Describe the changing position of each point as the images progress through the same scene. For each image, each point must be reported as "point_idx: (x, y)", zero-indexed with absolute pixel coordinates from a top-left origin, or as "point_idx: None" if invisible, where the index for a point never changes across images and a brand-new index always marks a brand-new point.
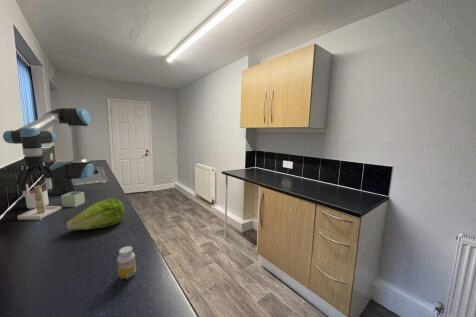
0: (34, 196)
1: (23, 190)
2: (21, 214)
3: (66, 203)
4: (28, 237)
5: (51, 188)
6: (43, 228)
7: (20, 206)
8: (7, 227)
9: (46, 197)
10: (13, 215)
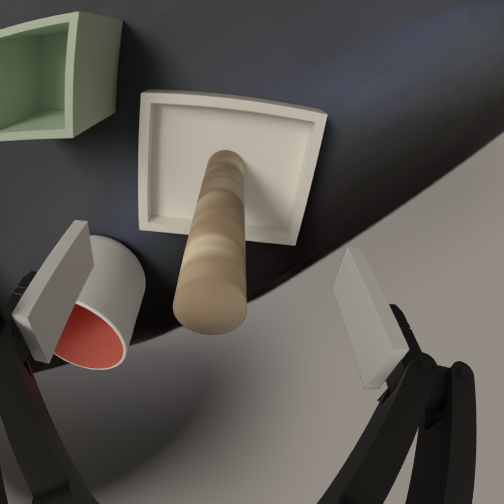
0: (117, 309)
1: (398, 313)
2: (278, 238)
3: (103, 84)
4: (498, 63)
5: (79, 221)
6: (436, 35)
7: None
8: (379, 211)
9: None
10: None
